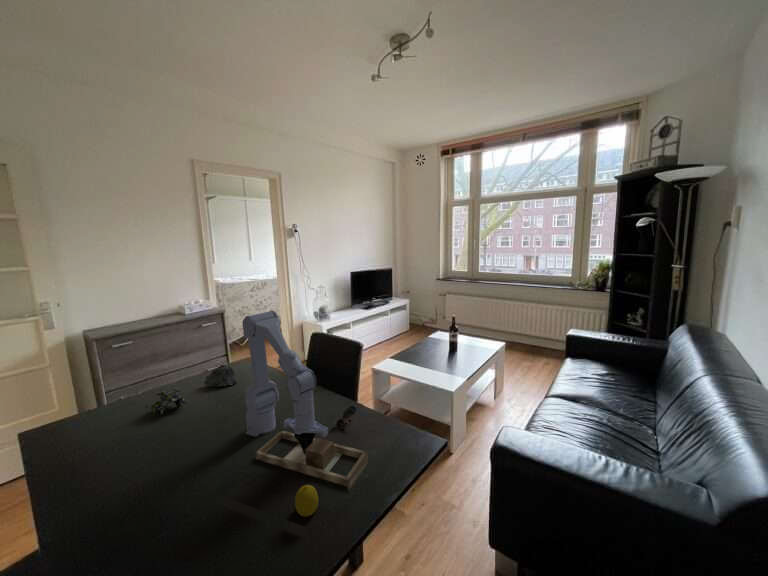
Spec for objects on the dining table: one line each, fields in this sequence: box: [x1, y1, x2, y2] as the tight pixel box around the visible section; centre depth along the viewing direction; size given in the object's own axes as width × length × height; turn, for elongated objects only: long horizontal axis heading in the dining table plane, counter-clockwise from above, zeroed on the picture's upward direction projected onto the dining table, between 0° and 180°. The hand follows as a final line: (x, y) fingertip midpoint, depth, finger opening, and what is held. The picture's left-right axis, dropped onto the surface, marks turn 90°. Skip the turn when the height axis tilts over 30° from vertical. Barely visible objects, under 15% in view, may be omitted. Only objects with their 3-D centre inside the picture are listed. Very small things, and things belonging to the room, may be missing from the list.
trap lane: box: [254, 430, 369, 492], centre depth 98 cm, size 32×12×4 cm, turn 68°
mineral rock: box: [203, 364, 239, 387], centre depth 152 cm, size 13×11×10 cm
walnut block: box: [305, 437, 335, 470], centre depth 96 cm, size 6×6×5 cm
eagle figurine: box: [333, 405, 357, 430], centre depth 116 cm, size 8×7×9 cm
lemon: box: [294, 484, 319, 518], centre depth 79 cm, size 6×6×8 cm
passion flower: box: [145, 387, 188, 416], centre depth 129 cm, size 11×11×12 cm
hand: (307, 452), depth 98 cm, fingers closed
